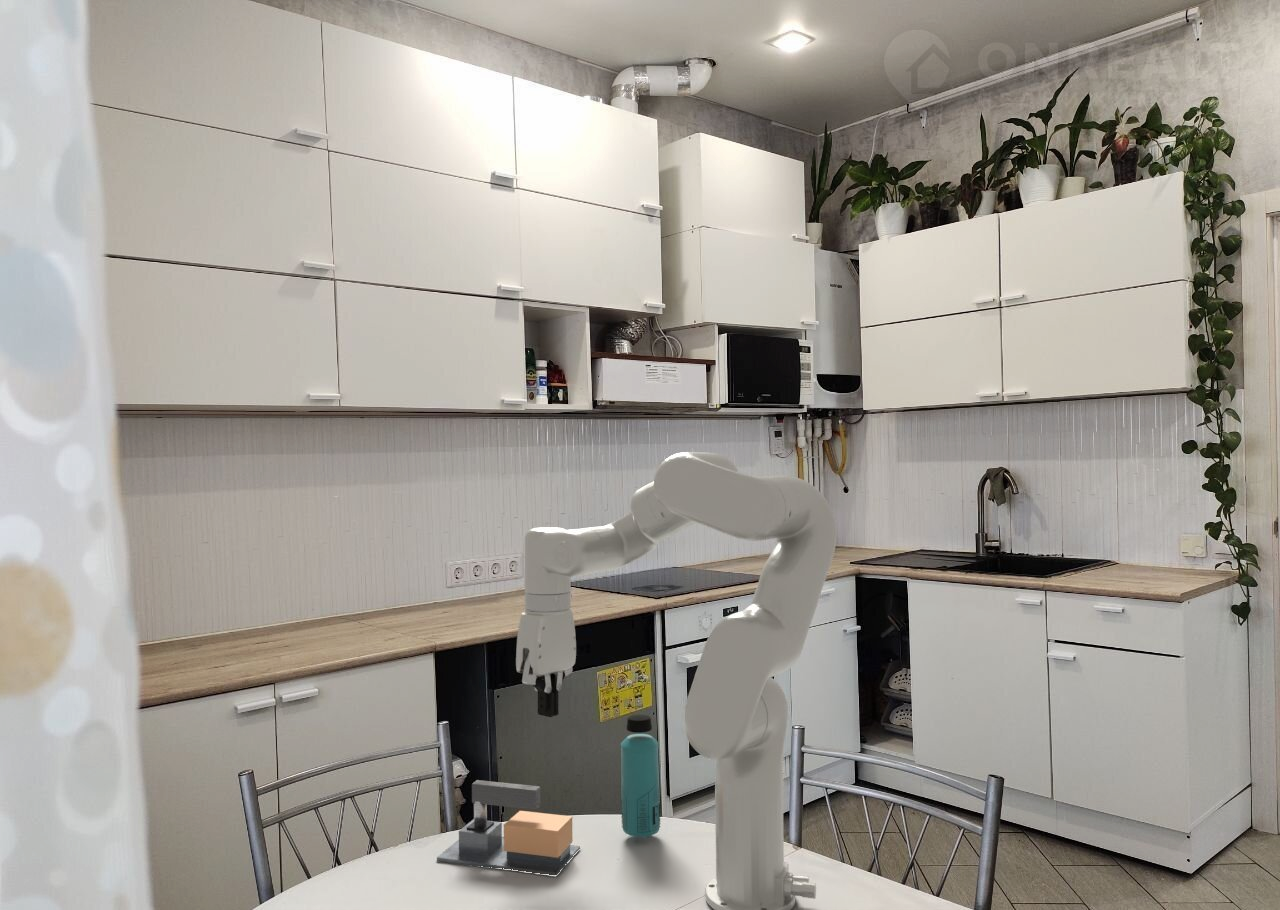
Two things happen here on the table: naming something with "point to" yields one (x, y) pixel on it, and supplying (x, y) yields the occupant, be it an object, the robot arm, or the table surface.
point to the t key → (502, 797)
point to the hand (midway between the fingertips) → (548, 714)
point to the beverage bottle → (640, 779)
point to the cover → (538, 834)
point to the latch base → (499, 852)
